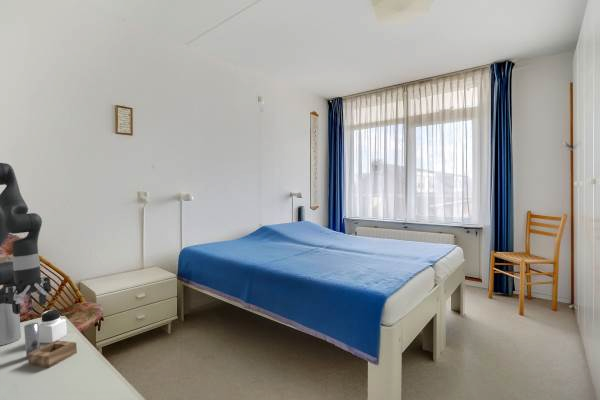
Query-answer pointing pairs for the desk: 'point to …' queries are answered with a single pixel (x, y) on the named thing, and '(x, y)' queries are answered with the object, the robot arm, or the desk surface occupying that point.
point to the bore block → (52, 353)
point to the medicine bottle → (52, 327)
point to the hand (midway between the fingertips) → (30, 309)
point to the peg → (31, 337)
